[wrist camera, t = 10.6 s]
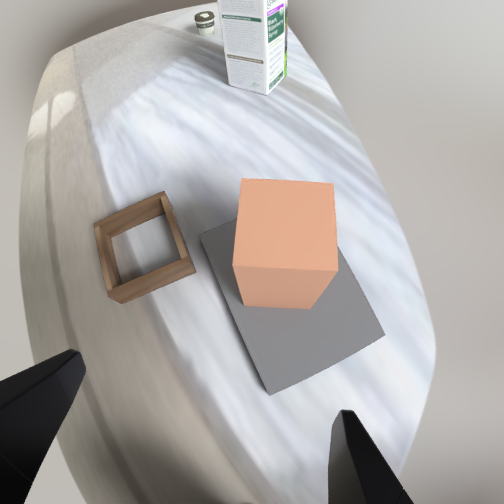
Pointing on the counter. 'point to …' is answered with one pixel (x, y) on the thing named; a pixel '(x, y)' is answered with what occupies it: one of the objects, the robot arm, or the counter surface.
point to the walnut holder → (129, 220)
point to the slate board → (295, 320)
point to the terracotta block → (285, 242)
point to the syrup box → (254, 42)
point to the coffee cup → (205, 23)
